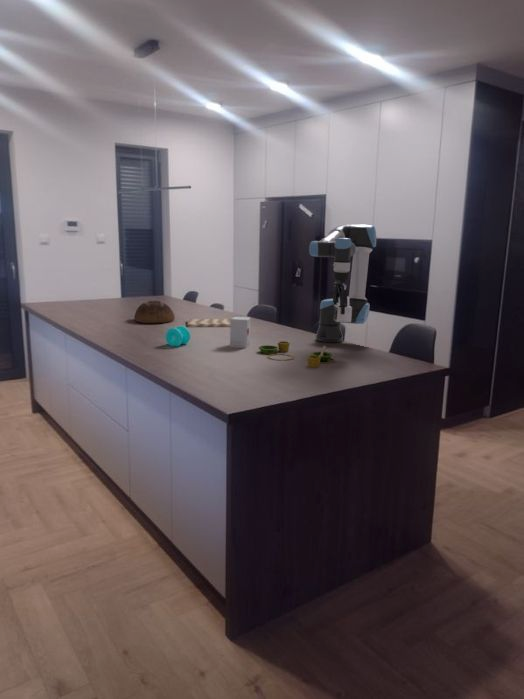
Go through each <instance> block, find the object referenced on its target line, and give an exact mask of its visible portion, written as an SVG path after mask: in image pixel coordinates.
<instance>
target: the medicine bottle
mask: <svg viewBox="0 0 524 699" xmlns="http://www.w3.org/2000/svg"><path fill="white" fill-rule="evenodd" d="M349 305H350V297H349V295H347V307H345V321H339V306H340V296H338V297H337V305H334V320H335V321H336V322H340V323H341V322H351V316H352V307H350V306H349Z"/></svg>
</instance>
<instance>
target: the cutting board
mask: <svg viewBox="0 0 524 699" xmlns="http://www.w3.org/2000/svg"><path fill="white" fill-rule="evenodd" d="M231 319H232V318H200V319H199V318H192V319H191V318H187V319H186V324H187V328H217V327H218V328H225V327H227V328H230V323H231Z"/></svg>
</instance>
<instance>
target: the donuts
mask: <svg viewBox="0 0 524 699" xmlns="http://www.w3.org/2000/svg"><path fill="white" fill-rule="evenodd" d="M190 340H191V332H190V330H189V329H188V327H186V326H185V325H179V326H177V327H170V328H169V329H167V330H166V331H165V341H166V343H167V344H168V345H169V346H170V347H173V346H176V347H179V346H181V345H187V344H188V343H189V342H190Z"/></svg>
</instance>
